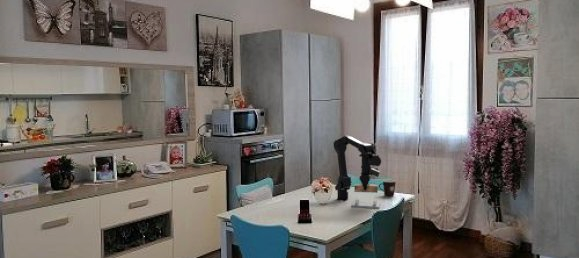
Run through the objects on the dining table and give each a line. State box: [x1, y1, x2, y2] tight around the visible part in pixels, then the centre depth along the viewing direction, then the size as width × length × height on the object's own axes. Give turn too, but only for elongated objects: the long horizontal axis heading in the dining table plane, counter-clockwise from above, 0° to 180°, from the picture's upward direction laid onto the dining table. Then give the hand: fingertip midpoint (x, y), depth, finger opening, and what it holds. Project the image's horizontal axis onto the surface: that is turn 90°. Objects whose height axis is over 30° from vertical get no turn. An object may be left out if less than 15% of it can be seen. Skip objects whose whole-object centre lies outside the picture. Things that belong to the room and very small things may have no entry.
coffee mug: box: [378, 179, 397, 197], centre depth 310 cm, size 12×9×10 cm
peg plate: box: [350, 197, 381, 210], centre depth 281 cm, size 17×10×4 cm, turn 75°
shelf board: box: [354, 183, 379, 194], centre depth 281 cm, size 14×6×4 cm, turn 79°
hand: (366, 189), depth 281 cm, fingers closed on shelf board, 6 cm apart
